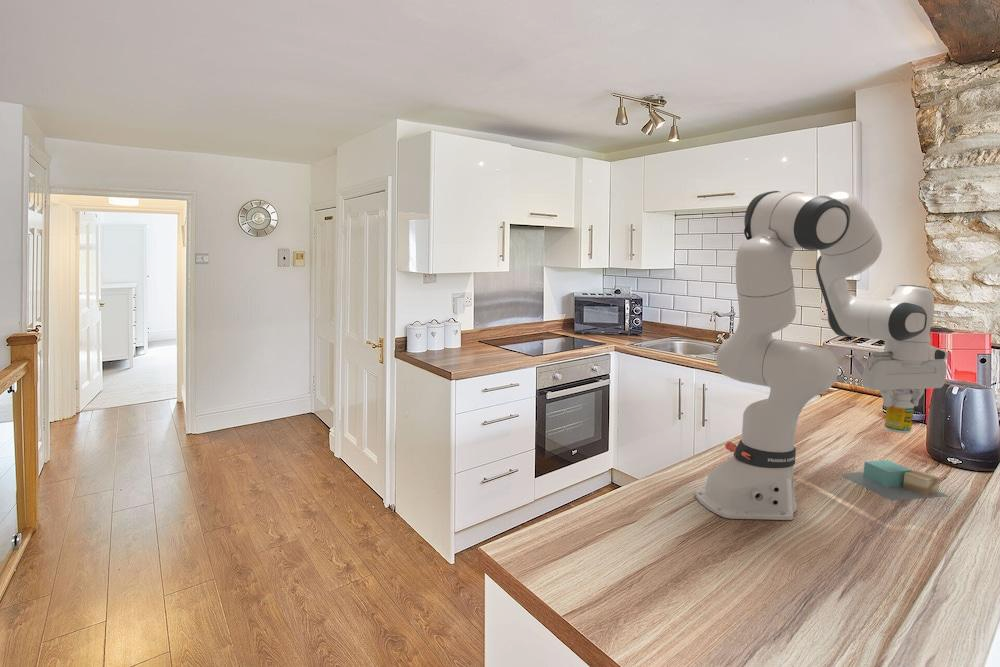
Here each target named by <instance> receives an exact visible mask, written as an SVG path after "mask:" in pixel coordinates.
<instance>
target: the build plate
mask: <svg viewBox="0 0 1000 667" xmlns="http://www.w3.org/2000/svg"><path fill="white" fill-rule="evenodd" d="M863 473H864V471H861V472H846V473H844V472H842V473H838V475H839V476H841V477H843V478H845V479H847V480H849V481H851V482H853V483H855V484H857V485H858V486H859V485H860V486H861V487H863V488H865V489H867V490H869V491H872V492H874V493H875V494H877V495H879V496H881V497H883V498H886V499H888V500H890V501H891V502H892V501H893V502H894V501H907V500H920V499H921V500H922V499H931V498H933V499H934V498H947V497H949V495H947V494H945V493H943V492H942V491H940V490H939V491H938V493H936V494H933V495H929V496H923V495H921V494H918V493H915V492H912V491H910V490H907V489H904V488H903V486H898V487H885V486H883V485H881V484H879V483H877V482H875V481H872V480H870V479H868V478H866V477H864V476H863Z"/></svg>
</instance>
